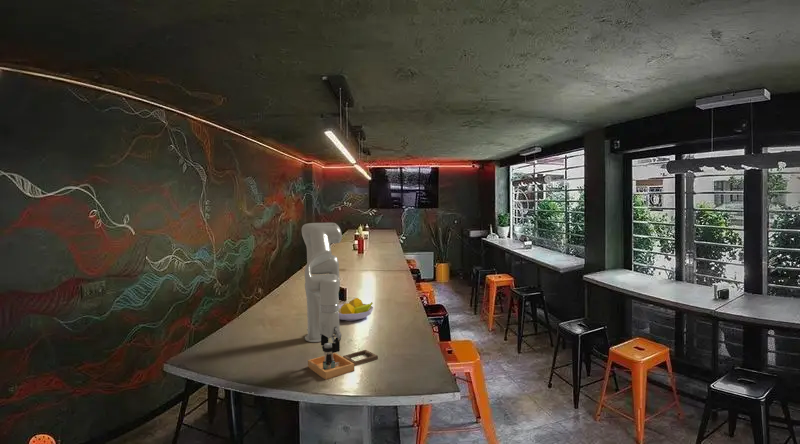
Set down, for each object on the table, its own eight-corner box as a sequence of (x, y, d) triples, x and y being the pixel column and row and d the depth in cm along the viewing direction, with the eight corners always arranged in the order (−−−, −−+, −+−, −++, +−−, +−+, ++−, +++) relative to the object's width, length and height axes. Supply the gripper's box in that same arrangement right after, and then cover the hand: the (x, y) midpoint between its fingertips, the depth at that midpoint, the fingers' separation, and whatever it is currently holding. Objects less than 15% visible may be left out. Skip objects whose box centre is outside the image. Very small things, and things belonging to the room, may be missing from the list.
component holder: (342, 359, 172) (342, 356, 172) (365, 352, 180) (365, 349, 180) (354, 366, 165) (354, 362, 164) (377, 359, 172) (377, 355, 172)
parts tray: (308, 367, 164) (307, 360, 164) (335, 359, 172) (335, 352, 172) (325, 380, 152) (325, 372, 152) (354, 371, 160) (354, 363, 160)
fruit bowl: (321, 318, 238) (320, 299, 238) (357, 309, 256) (357, 292, 256) (346, 328, 217) (346, 308, 217) (384, 318, 235) (384, 299, 235)
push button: (337, 364, 166) (336, 340, 166) (339, 368, 161) (339, 344, 161) (321, 366, 164) (321, 342, 163) (323, 371, 159) (323, 347, 158)
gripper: (311, 305, 166) (312, 344, 167) (331, 314, 152) (332, 357, 153) (327, 301, 170) (328, 340, 172) (348, 310, 157) (348, 352, 158)
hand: (330, 348), depth 162 cm, fingers open, 9 cm apart
